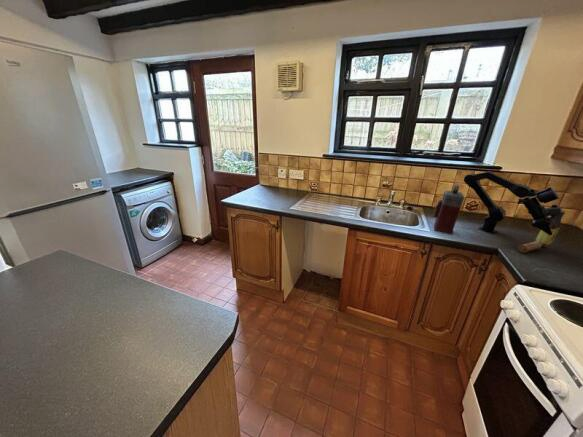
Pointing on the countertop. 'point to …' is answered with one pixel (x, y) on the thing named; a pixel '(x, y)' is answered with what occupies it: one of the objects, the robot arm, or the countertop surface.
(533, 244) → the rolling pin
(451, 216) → the red bottle
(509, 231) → the countertop surface
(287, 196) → the countertop surface
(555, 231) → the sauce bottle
